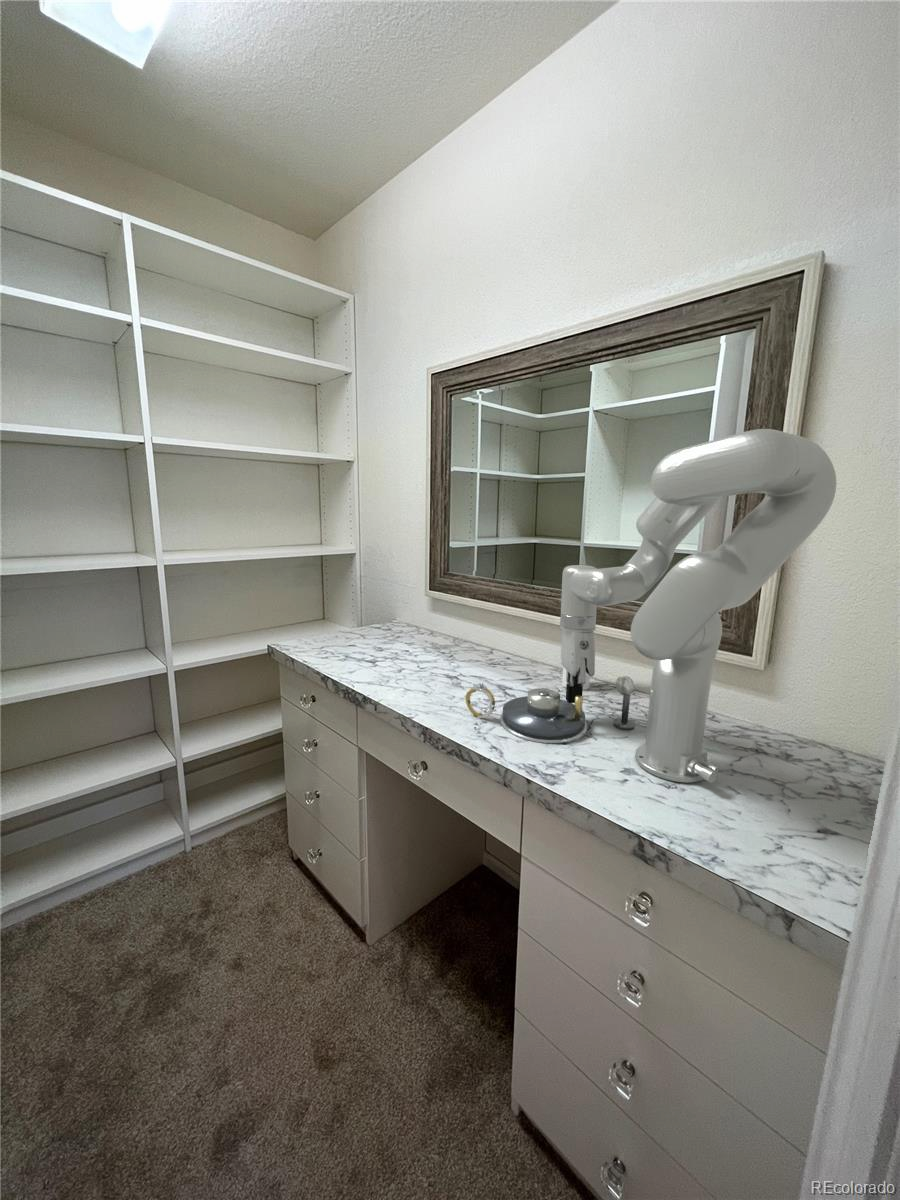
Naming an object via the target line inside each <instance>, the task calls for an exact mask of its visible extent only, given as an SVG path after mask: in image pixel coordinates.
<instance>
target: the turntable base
mask: <svg viewBox="0 0 900 1200" xmlns="http://www.w3.org/2000/svg"><path fill="white" fill-rule="evenodd" d="M502 716H503V712H502V713H501V715H500V716H499V717H500V718H499V723H500V725H501V727H502V728H503V730H505V731H506V732H508V733H509V734H511V735H513V736H514V737H517V738H519V739H522V740H525V741H529V742H533V743H540V744H548V745H549V744H567V743H571V742H575V741H577V740H579V739H581V738H583V737H585V735H586V733H587V732H588V731H587V730H588V725H587V723H586V721H585V728H584V730H583V731H582V732H581V733H580V734H578V735H576V736H573V737H570V738H564V739H541V738H535V737H530V736H526V735H523V734H520V733H518V732H516V731H514V730H512V729H511V728H509V727H508V726H507V725H506V724H505V723H504V721H503V718H502Z"/></svg>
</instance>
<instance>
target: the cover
mask: <svg viewBox="0 0 900 1200" xmlns="http://www.w3.org/2000/svg"><path fill="white" fill-rule="evenodd" d="M527 696H528V701H527V711H528V713H529V714H531V715H533V716H536V717H541V718H552V717H556V716H557V715H558V714H559V706H560V699H561V694H560V693H559V692H557V691H556V690H553V689H548V688H540V687H539V688H538V687H537V688H533V689H532V688H531V689H530V690H529V691H528V692H527Z"/></svg>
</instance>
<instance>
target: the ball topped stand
mask: <svg viewBox="0 0 900 1200" xmlns="http://www.w3.org/2000/svg"><path fill="white" fill-rule="evenodd" d="M615 687H616V690H617V692H618V694H620V695H621V696H622V707H621V717H620V718H619V717H617V718H614V719H613V727H615V728H617V729H619V730H621V731H633V730H635V728H636V724H635V722H634V721H633V720H630V719H629V713H630V701H631V695H632V694H633V693H634V691H635V683H634V681H633V679H632V678H631V677H630V676H628V675H623V676H618V677H617V679H616V681H615Z"/></svg>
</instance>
